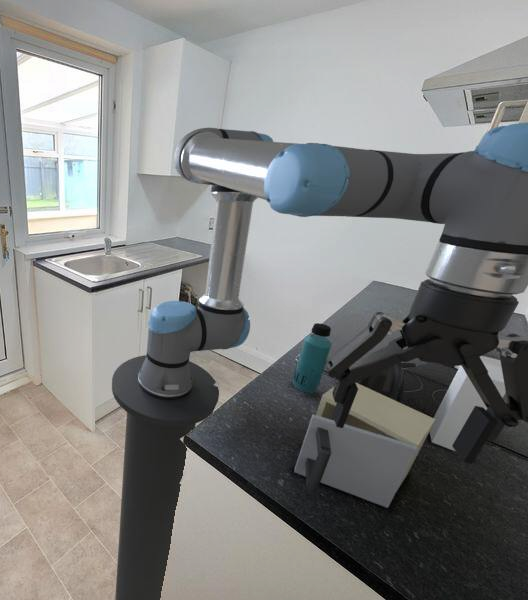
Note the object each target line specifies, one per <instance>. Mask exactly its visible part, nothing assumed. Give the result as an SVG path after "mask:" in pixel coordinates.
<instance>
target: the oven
mask: <svg viewBox="0 0 528 600" xmlns="http://www.w3.org/2000/svg"><path fill="white" fill-rule="evenodd" d="M356 385H357V387H358V391H357V394H356V396H355V399H354V401H353V404H352V407H351V409H350V412H349V414H348V417H347V419H346V422H345V424H346V425H350V426H353V427H356V428H359V429H363V430H366V431H369V432H372V433H376V434H379V435H382V436H385V437H389V438H392V439H395V440H398V441H402V442H405V443H408V444H411V445H415V446H416V448H417V452H416V454H415V456H414V458H413V460H412V462H411V464H410V466H409V468H408V470H407V472H406V474H405V476H404V478H403V480H402V481H401V483H400V485H399V487H398V489H397V491H398V490H399V488H400V487H401V485H402V484H403V482H404V481H405V479H406V477H407V476H408V474H409V472H410V470H411V469H412V467H413V464H414V462H415V460H416V459H417V456H418V455H419V452H420V451H421V448H422V447H423V445H424V443H425V441H426V439H427V437H428V435H429V434H430V432H429V431H430V429H431V428H432V426H433V424H434V422H435V420H436V419H434V417H432V416H429V415H427V414H425V413H424V412H421V411H419V410H417V409H415V408H412V407H410V406H408V405H406V404H403V403H402V402H400V403H399V402H397V401H395V400H393V399H390V398H388V397H386V396H384V395H382V394H380V393H377V392H375V391H373V390H371V389H369V388H367V387H364V386H362V385H360V384H358V383H356ZM333 389H334V386H332V387H331V388H330V389H329V390H327V391H326V392H325V393H323V394H322V395H321V399H320V402H319V405H318V407H317V410H316V414H315V415H317V416H321V417H324V418H327V419H330V420H334V417H333V412H334V409H335V406H336V403H337V402H335V401H334V398H333V394H332V392H333ZM334 421H335V420H334Z"/></svg>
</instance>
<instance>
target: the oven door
mask: <svg viewBox="0 0 528 600" xmlns="http://www.w3.org/2000/svg"><path fill="white" fill-rule="evenodd" d="M307 427H308V428H307V430H306V433H305V435H304V439H303V442H302V445H301V448H300V450H299V452H298V453H299V454H298V456H297V459H296V463H295V465H294V473H295V474H297V475H300V476H302V477H305V483H306V485H305V486H306V489H307V491H309V492H310V493H312V494H316V493H318V489H319V487H320V484H323V485H327V486H329V487H332V488H334V489H337V490H339V491H342V492H345V493H347V494H349V495H352V496H356V497H357V498H360V499H363V500H365V501H369V502H370V503H373V504H376V505H379V506H381V507H384V508H387V509H388V508H389V507H390V505H391V503H392V501H393V499H394V497H395V495H396V493H397V492H398V490H399V488H400V487H399V485H400V483H401V481H402V480H403V478H404V476H405V474H406V472H407V470H408V468H409V466H410V464H411V462H412V460H413V458H414V456H415V454H416V452H417V448H416V446H415V445H411V444H408V443H405V442H402V441H398V440H395V439H392V438H389V437H385V436H382V435H379V434H376V433H372V432H369V431H366V430H363V429H359V428H356V427H353V426H350V425H346V424H344V427H343V428H339V427H336V424H335V421H334V420H330V419H327V418H324V417H321V416H317V415H316V414H314V413H313V414H312V415H311V418H310V420H309V423H308V426H307ZM403 481H404V480H403ZM400 486H401V485H400ZM398 487H399V488H398ZM397 489H398V490H397Z"/></svg>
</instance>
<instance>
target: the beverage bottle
mask: <svg viewBox="0 0 528 600" xmlns="http://www.w3.org/2000/svg"><path fill="white" fill-rule="evenodd" d="M331 331H332V328H331V326H329V325H327V324H324V323H319V322H317V323H314V324H313V325H312V328H311V331H310V332H311V334H308V335H306V336H304V339H303V343H302V347H301V349H300V352H299V356H298V361H297V362H296V366H295V368H294V373H293V376H292V379H291V380H292V384H293V387H295V388H296V389H298V390H300V391H302V392H306V393H315V392H317V391H318V389H319V386H320V384H321V380H322V376H323V374H324V371H325V370H324V369H325V367H326V366H325V363H326V362H327V361H328V357H329V354H330V351H331V348H332V342H331V341H330V340H329V338H328V337H330V335H331Z"/></svg>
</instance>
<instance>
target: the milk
mask: <svg viewBox="0 0 528 600" xmlns="http://www.w3.org/2000/svg"><path fill="white" fill-rule="evenodd" d="M480 359H481V360H482V362H483V364H484V365H485V367H486V369H487V370H488V375H489V376H490V378H491V380H492V381H493V383H494V385H495V386H496V388H497V390H498V391H499V393H500V395H501V396H502V398H503V399H504V397H505V396H506V391H505V385H504V379H503V373H502V367H501V361H500V359H497V358H493V357H489V356H486V355H485V356H484V355H482V356H480ZM475 406H479V407H483V408H484V409H485V410H487V407H486V406H485V404H484V402H483V401H482V399H481V397H480V396H479V394H478V392H477V391H476V389H475V387H474V386H473V384H472V382H471V381H470V379H469V377H468V376H467V374H466V372H465V371H464V369H463V367H462V366H461V365H460V367H459V369H457V371H456V373H455V375H454V377H453V378H452V381H451V383H450V384H449V387H448V388H447V390H446V392H445V395H444V396H443V398H442V401H440V404H439V407H438V408H437V411H436V412H435V414H434V416H433V418H434V419H436V420H435V422H434V424H433V426H432V428H431V429H430V431H429V436H430V440H431V443H432V444H435V445H437V446H440V447H443V448H446V449H447V450H451V451H453V452H456V451H455V449H454V448H453V446H452V445H453V443H454V442H455V440H456V438H457V436H458V435H459V433H460V431H461V429H462V428H463V426H464V424H465V423H466V421H467V419H468V417H469V416H470V414H471V412H472V410H473V409H474V407H475Z"/></svg>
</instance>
